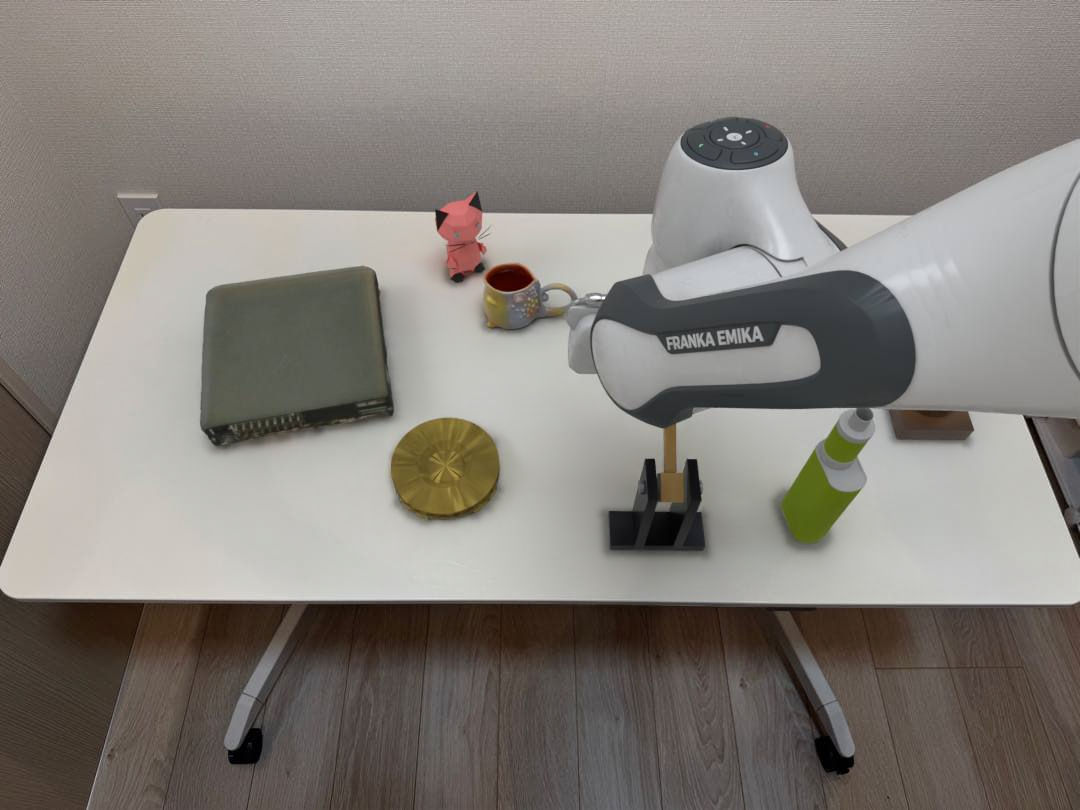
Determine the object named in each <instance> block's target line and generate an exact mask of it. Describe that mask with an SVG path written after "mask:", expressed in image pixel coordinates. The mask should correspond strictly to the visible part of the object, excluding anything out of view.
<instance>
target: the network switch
mask: <svg viewBox="0 0 1080 810" xmlns="http://www.w3.org/2000/svg"><path fill="white" fill-rule="evenodd" d="M381 292H382V291H381V290H380V289H379V281H378V275H377V272H376V270H374V269H373V268H371V267H369V266H365V265H359V266H349V267H342V268H335V269H327V270H318V271H311V272H305V273H303V272H302V273H297V274H289V275H282V276H273V277H268V278H267V277H266V278H259V279H254V280H252V279H251V280H246V281H245V280H244V281H240V282H233V283H232V282H231V283H225V284H219V285H216V286H213V287H212V288H211V289H209V290H207V293H206V294H205V305H204V313H203V314H204V315H203V316H204V317H203V331H202V332H203V333H202V339H203V340H202V352H201V354H202V355H201V360H202V361H201V377H200V378H201V388H200V389H201V392H200V406H199V407H200V418H199V426H200V430H201V431H202V432H203V433H204V434H205V436H207V438H208V440H209V441H210V442H211V444H213V445H214V446H215V447H221V446H223V445H229V444H235V443H240V442H246V441H251V440H256V439H260V438H268V437H274V436H275V437H276V436H281V435H287V434H292V433H294V432H299V431H303V430H308V429H314V430H315V429H319V428H321V427H322V428H323V427H331V426H336V425H340V424H344V423H345V424H346V423H351V422H356V421H359V420H364V419H370V418H375V417H379V416H382V415H389V416H390V417H392V416H393V415H394V412H395V408H394V399H393V392H392V385H391V378H390V375H389V367H388V354H387V353H388V352H387V346H386V341H385V332H384V327H383V326H384V325H383V316H382V315H383V314H382V308H381V299H380V295H381V294H382V293H381Z"/></svg>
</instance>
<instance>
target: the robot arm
mask: <svg viewBox="0 0 1080 810" xmlns="http://www.w3.org/2000/svg"><path fill="white" fill-rule="evenodd" d="M795 165H796V164H795V154H794V149H793V146H792V143H791V141H790V139H789V138H788V137H787V135H786V134H785V133H784V132H783V131H781V130H780V128H778V127H776V126H774V125H772V124H771V123H767V122H765V121H762V120H760V119H756V118H752V117H751V118H749V117H742V116H726V117H721V118H716V119H713V120H708V121H704V122H702V123H698V124H696V125H694V126H692V127H690V128H687V129H686V130H684V131H683V132H682V134H681V135H679V137H678V138H677V140H676V141H675V142H674V143H673V146H672V147H671V150H670V151H669V154H668V156H667V159H666V161H665V164H664V166H663V169H662V170H663V171H662V174H661V177H660V179H659V180H660V181H659V183H658V187H657V192H656V196H655V201H654V205H653V211H652V215H651V216H652V217H651V223H650V235H651V241H652V244H651V245H650V247H649V248H648V251H647V253H646V255H645V259H644V263H643V269H642V270H643V271H642V275H639V276H635V277H631V278H627V279H623V280H619V281H615V282H614V283H613V285H612V286H611V288H610V289H609V291H608V292H607V294H606V293H601V292H589V293H585V295H584V297H579V298H578V299H576V300H574V301H571V300H570V302H569V303H568V304H569V305H568V304H567V305H568V307H567V313H565V314H566V315H565V317H566V318H565V321H566V324H567V326H568V328H569V332H568V340H567V341H568V342H567V358H568V359H567V361H568V362H567V363H568V367H569V368H570V370H572V371H573V372H575V373H576V374H578V375H597V377H598V380H599V382H600V384H601V386H602V388H603V390H604V391H605V393H606V395H607V396H608V397H609V399H610V401H612V403H613V404H614V405H615V406H616V407H617V408H618V409H619V410H621V411H622V412H624V413H625V414H627V415H629V416H631V417H633V418H634V419H636V420H638V421H640V422H643V423H645V424H647V425H649V426H653V427H656V428H659V429H662V430H663V429H664V428H667V427H669V426H672V425H674V424H676V425H677V424H679V423H681V422H683V421H686V420H689V419H691V418H692V417H693V415H695V414H698V413H701V412H703V411H706V410H709V409H749V410H753V409H754V410H813V409H814V410H815V409H817V410H818V409H856V408H870V409H874V410H875V409H877V410H889V409H893V410H945V411H968V413H969V412H970V413H971V412H972V413H973V412H974V413H986V414H987V413H988V414H1003V415H1015V416H1017V415H1018V416H1027V417H1029V416H1030V417H1046V418H1059V419H1060V418H1061V419H1071V420H1072V419H1073V420H1080V138H1077V139H1075V140H1072V141H1069V142H1067V143H1064V144H1061V145H1059V146H1057V147H1054V148H1052V149H1050V150H1047V151H1044V152H1042V153H1040V154H1037V155H1035V156H1032V157H1029V158H1028V159H1026V160H1023V161H1021V162H1019V163H1017V164H1015V165H1012V166H1010V167H1008V168H1005V169H1003V170H1001V171H999V172H998V173H995V174H993V175H990V176H989V177H986V178H985V179H983V180H981V181H979V182H977V183H974V184H973V185H970V186H969V187H966V188H964V189H962V190H960V191H959V192H957V193H955V194H952V195H951V196H949V197H946V198H945V199H943V200H940V201H939V202H937V203H935V204H933V205H931V206H929V207H927V208H925V209H923V210H920V211H919V212H916V213H915V214H913V215H911V216H910V217H909V216H908V217H907V218H905V219H903V220H901V221H899V222H897V223H895V224H893V225H891V226H889V227H887V228H885V229H883V230H881V231H879V232H877V233H875V234H873V235H871V236H869V237H867V238H865V239H863V240H860V241H859V242H857V243H855V244H853V245H850V246H847V245H846V244H845V242H843V241H842V240H841V239H840V238H839V237H838V236H836V235H835V234H834V233H833V232H831V231H830V230H829V229H828V228H827V227H825V226H824V225H823V224H822V223H820V222H819V221H818V220H817V219H816V218H815V217H813V215H812V213H811V211H810V208H809V207H808V206H807V204H806V201H805V199H804V198H803V195H802V193H801V190H800V187H799V184H798V179H797V175H796V174H797V173H796V166H795Z"/></svg>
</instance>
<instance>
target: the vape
mask: <svg viewBox="0 0 1080 810" xmlns="http://www.w3.org/2000/svg"><path fill="white" fill-rule="evenodd" d="M874 417H875V415H874V412H873V410H872V408H849V409H847V410H844V411H843V412H842V413H841V414H840V416H839V417H838V418H837V421H836V423H835V425H833V428H832V429H831V431H830V432H829V433H828V435H827V437H825V438H824V439H822V440H820V441H819V442H817V444H816V445H815V447H814V449H813V451H812V452H811V454H810V455H809V457H808V459H807V460H806V462H805V463H804V465H803V467H802V468H801V470H800V472H798V474H797V476H796V478H795V479H794V481H793V482H792V484H791V486H790V487H789V490H788V491H787V493H785V495H784V497H783V498H782V500H781V502H780V509H781V512H782V515H783V517H784V519H785V522H786V524H787V528H788V529H789V532H790V535H791V537H792V539H794V540H795V541H796V542H798V543H801V544H806V545H807V544H809V545H811V544H815V543H818V542H820V541H822V539H823V538H824V537H825V535H826V534H827V533H828V532H829V531H830V529H831V528H832V527H833V526H834V525H835V524H836V522H837V521H838V520H839V518H840V517H841V516H842V514H843V513H844V512H845V511H846V509H847V508H848V507H849V506H850V505H851V503H852V502H853V501H854V500H855V498H856V497H857V496H858V495H859V493H860V492H861V491H862V490H863V489H864V487H865V486H866V485H867V482H868V476H867V474H866V471H865V470H864V468H863V465H862V463H861V460H860V459H859V454H860V453H861V452H862V450H863V449H864V448H865V446H866V445H867V443H869V441H870V440H871V439H872V437H873V436H874V434H875V433H876V423H875V421H874Z"/></svg>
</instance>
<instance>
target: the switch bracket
mask: <svg viewBox="0 0 1080 810" xmlns="http://www.w3.org/2000/svg"><path fill="white" fill-rule="evenodd" d="M681 473H684V502H683V503H671V504H670V506H669V509H668V511H662V510H661V511H660V510H659V511H657V510H656V509H657V507H658V503H659V502H658V500H659V498H658V486H657V464H656V458H653V457H652V458H651V457H650V458H649V457H645V458H644V461H643V465H642V469H641V474H640V477H639V479H638V481H637V489H636V492H635V497H634V500H633V505H632V509H631V510H608V515H607V519H608V520H607V521H608V524H607V525H608V545H609V546H608V547H609V548H608V549H609V550H610V551H689V552H690V551H692V552H693V551H694V552H695V551H696V552H697V551H698V552H702V551H705V548H706V540H705V532H704V523H703V513H702V511H698V510H699V508H700V505H701V504H702V501H703V498H702V495H703V492H704V484H703V483H704V482H703V481H702V480H700V472H699V463H698V459H697V458H687V459H686V461H685V463H684V466H683V469H682V472H681Z"/></svg>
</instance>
